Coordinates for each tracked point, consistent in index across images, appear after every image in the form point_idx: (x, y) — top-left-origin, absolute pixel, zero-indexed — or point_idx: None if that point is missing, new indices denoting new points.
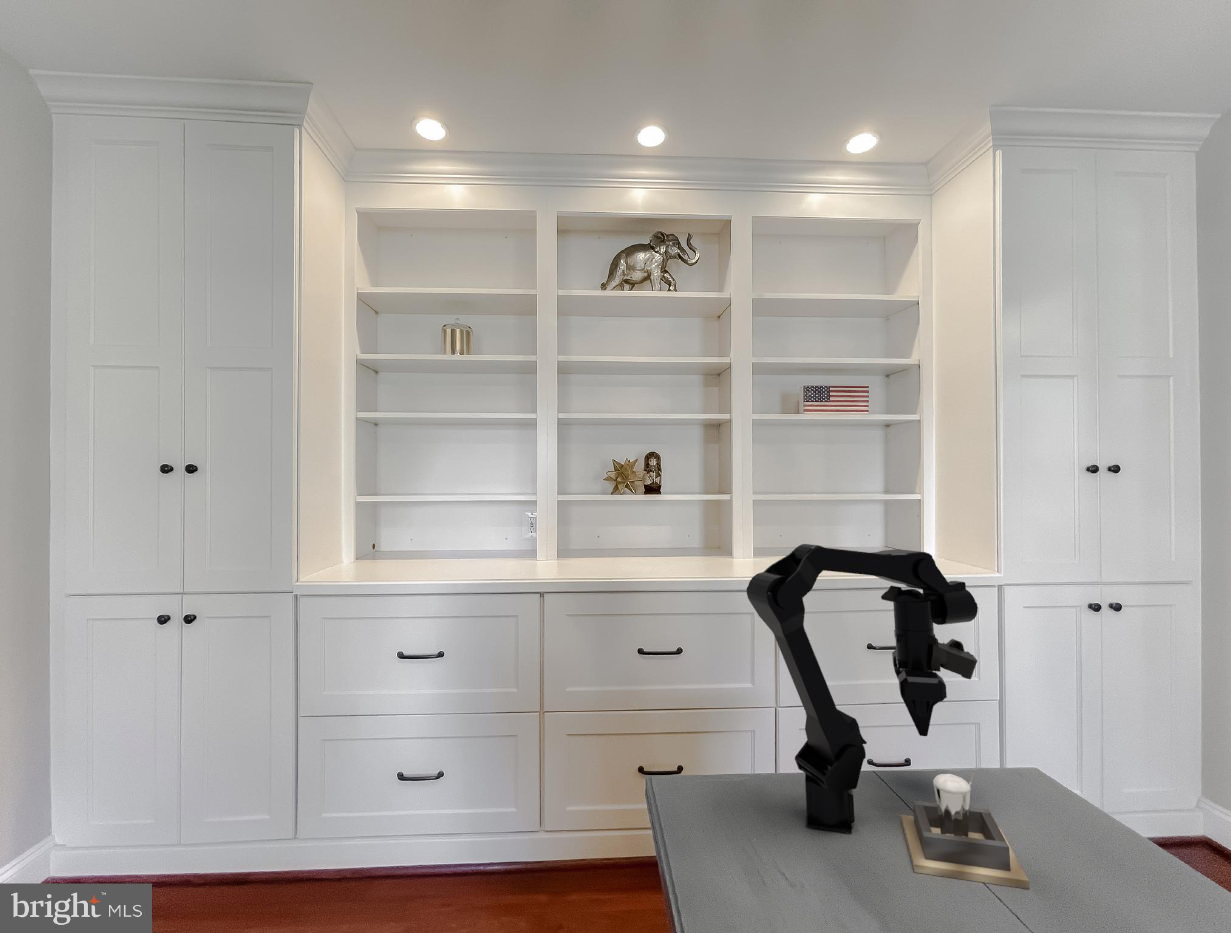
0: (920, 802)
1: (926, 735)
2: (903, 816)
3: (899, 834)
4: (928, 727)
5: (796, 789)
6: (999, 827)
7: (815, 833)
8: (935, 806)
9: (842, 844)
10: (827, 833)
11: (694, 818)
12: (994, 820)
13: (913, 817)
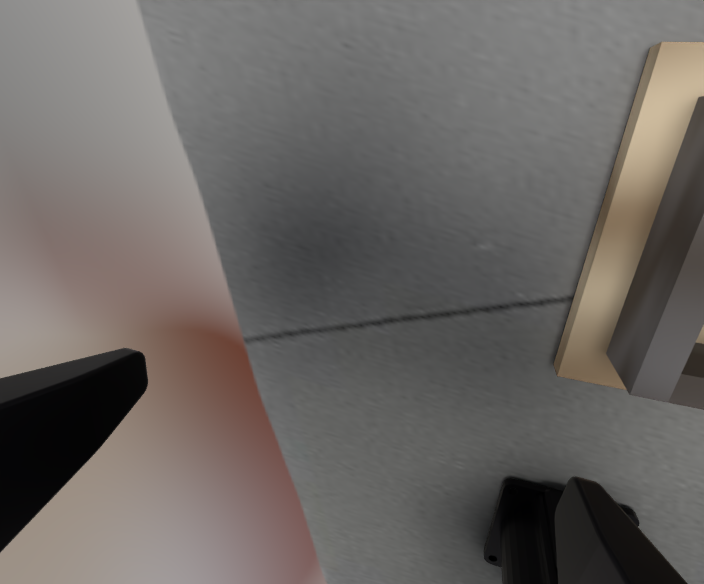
0: (652, 373)
1: (597, 489)
2: (571, 373)
3: None
4: (665, 565)
5: (388, 540)
6: (674, 42)
7: None
8: (699, 330)
9: (692, 544)
10: None
11: None
12: None
13: (579, 346)
